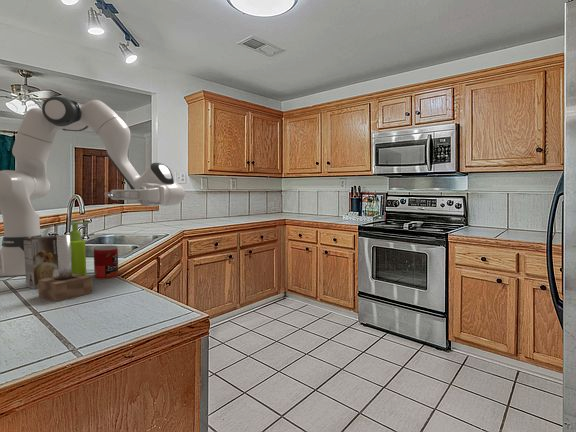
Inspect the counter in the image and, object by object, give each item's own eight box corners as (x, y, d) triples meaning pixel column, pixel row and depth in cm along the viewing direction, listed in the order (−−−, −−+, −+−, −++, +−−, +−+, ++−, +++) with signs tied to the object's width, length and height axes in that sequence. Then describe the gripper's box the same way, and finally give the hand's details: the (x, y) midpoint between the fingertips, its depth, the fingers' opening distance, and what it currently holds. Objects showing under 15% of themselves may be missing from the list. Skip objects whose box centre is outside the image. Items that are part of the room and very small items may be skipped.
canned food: (108, 279, 122) (107, 248, 121) (89, 278, 123) (88, 248, 123) (123, 274, 129) (122, 245, 128) (104, 273, 131) (103, 245, 130)
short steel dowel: (50, 287, 112) (49, 268, 112) (61, 284, 115) (60, 266, 115) (55, 288, 110) (55, 270, 110) (67, 285, 113) (66, 268, 113)
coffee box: (56, 280, 120) (54, 235, 119) (65, 283, 117) (63, 236, 116) (25, 286, 113) (22, 237, 112) (34, 289, 109) (31, 239, 108)
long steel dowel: (57, 295, 103) (54, 235, 102) (69, 292, 106) (66, 234, 105) (63, 297, 101) (60, 236, 100) (75, 294, 104) (72, 234, 103)
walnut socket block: (39, 296, 102) (38, 279, 101) (73, 288, 110) (73, 273, 110) (57, 301, 97) (56, 284, 96) (92, 292, 105) (91, 276, 105)
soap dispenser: (91, 276, 127) (89, 222, 126) (70, 279, 122) (68, 223, 120) (86, 273, 131) (84, 221, 130) (65, 277, 126) (63, 222, 124)
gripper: (130, 186, 135) (96, 186, 123) (166, 186, 125) (133, 185, 113) (130, 202, 136) (96, 203, 124) (167, 203, 126) (134, 204, 114)
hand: (114, 194), depth 118 cm, fingers open, 8 cm apart
